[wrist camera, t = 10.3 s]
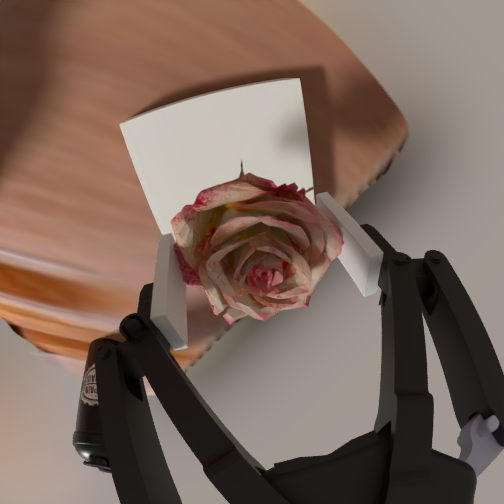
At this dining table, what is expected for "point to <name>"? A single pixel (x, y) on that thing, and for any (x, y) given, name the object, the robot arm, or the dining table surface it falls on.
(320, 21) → the dining table surface
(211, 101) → the block
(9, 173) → the dining table surface
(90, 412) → the water bottle
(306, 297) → the flower
